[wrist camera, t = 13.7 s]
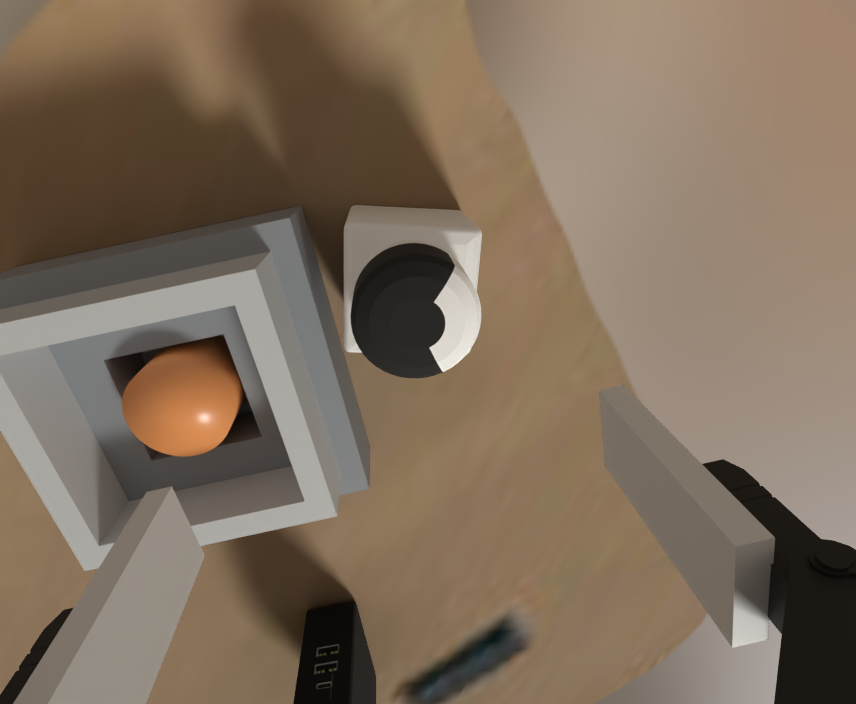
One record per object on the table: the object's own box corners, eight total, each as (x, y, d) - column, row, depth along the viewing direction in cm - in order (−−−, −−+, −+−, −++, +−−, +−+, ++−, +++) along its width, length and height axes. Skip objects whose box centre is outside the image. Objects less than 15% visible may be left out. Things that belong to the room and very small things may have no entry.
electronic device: (355, 596, 46) (349, 714, 36) (376, 675, 50) (376, 800, 40) (306, 605, 46) (288, 725, 36) (332, 683, 50) (321, 810, 40)
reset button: (177, 421, 37) (147, 465, 32) (141, 342, 34) (103, 376, 29) (263, 403, 37) (246, 444, 32) (234, 322, 34) (210, 353, 29)
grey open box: (134, 498, 40) (71, 595, 32) (15, 266, 33) (-107, 312, 25) (370, 447, 40) (368, 530, 32) (301, 205, 33) (276, 231, 25)
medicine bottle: (349, 313, 36) (337, 394, 25) (349, 204, 33) (336, 241, 22) (454, 316, 37) (488, 396, 26) (463, 209, 34) (504, 248, 23)
